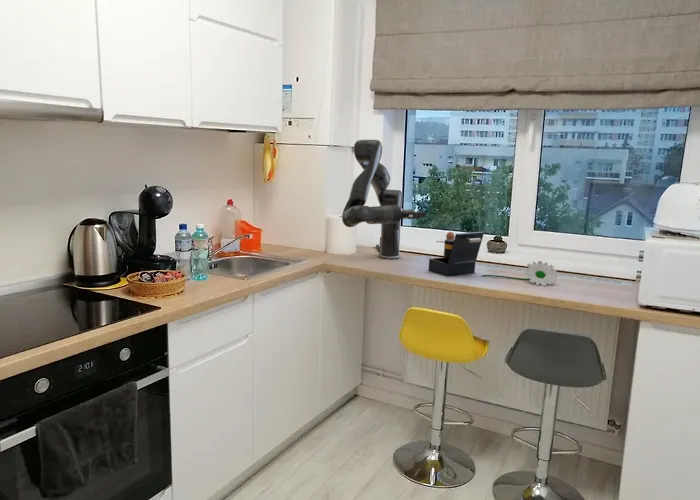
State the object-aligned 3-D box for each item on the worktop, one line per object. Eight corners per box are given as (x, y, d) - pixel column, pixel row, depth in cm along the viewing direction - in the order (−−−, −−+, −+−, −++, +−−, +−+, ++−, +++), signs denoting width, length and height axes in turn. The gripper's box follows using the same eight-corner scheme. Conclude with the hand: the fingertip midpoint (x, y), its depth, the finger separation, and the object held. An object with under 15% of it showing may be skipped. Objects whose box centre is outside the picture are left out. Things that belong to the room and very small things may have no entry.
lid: (455, 233, 221) (462, 237, 218) (482, 231, 229) (490, 235, 226) (448, 262, 226) (454, 267, 223) (474, 259, 235) (481, 264, 231)
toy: (462, 262, 257) (464, 231, 254) (463, 264, 252) (465, 233, 250) (434, 261, 258) (436, 230, 255) (434, 263, 254) (436, 231, 251)
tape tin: (440, 268, 238) (442, 239, 236) (449, 267, 241) (451, 239, 239) (448, 271, 234) (450, 241, 231) (458, 270, 237) (460, 241, 234)
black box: (428, 270, 238) (429, 258, 237) (454, 267, 246) (455, 256, 245) (447, 276, 227) (448, 264, 226) (474, 273, 235) (475, 261, 234)
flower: (483, 260, 232) (557, 259, 221) (484, 269, 236) (557, 268, 225) (480, 282, 223) (558, 282, 212) (482, 291, 226) (558, 291, 216)
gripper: (398, 207, 212) (430, 206, 221) (378, 203, 224) (408, 202, 233) (397, 226, 214) (429, 224, 222) (377, 221, 225) (407, 219, 234)
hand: (418, 213), depth 227 cm, fingers open, 8 cm apart
